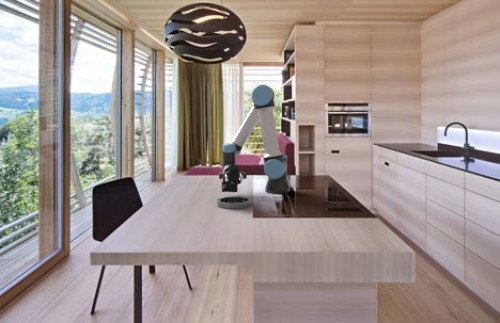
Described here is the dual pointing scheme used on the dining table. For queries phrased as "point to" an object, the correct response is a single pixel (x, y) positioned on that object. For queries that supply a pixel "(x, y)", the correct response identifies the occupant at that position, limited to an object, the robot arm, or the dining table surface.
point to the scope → (232, 180)
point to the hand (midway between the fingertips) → (234, 178)
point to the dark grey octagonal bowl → (234, 202)
